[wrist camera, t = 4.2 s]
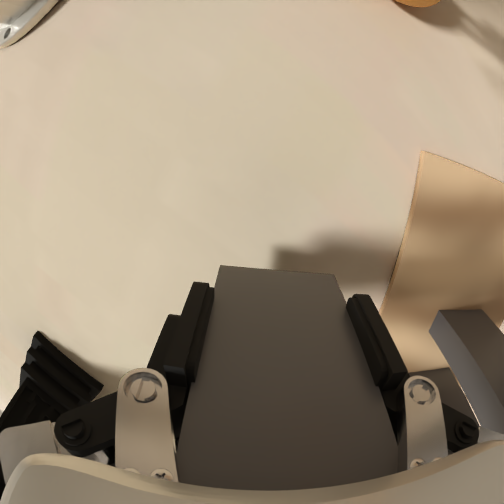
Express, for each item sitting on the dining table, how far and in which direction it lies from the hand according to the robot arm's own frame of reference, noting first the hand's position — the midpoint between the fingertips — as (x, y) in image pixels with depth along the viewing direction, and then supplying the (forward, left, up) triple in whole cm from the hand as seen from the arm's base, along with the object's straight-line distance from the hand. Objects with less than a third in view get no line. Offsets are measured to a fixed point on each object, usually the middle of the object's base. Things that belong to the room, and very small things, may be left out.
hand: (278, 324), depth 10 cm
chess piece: (+15, -19, -5) cm, 25 cm away
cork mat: (+9, +14, -5) cm, 17 cm away
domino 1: (0, 0, -3) cm, 3 cm away
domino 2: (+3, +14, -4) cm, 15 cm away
